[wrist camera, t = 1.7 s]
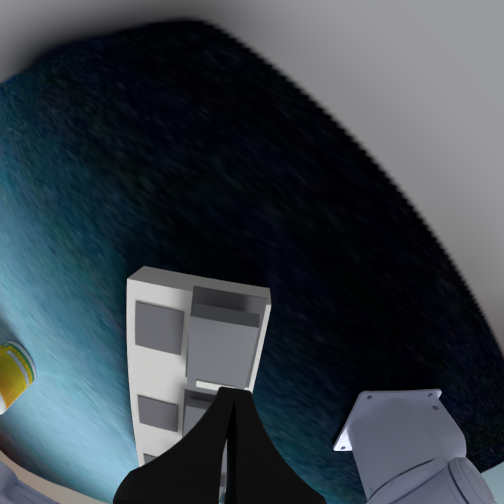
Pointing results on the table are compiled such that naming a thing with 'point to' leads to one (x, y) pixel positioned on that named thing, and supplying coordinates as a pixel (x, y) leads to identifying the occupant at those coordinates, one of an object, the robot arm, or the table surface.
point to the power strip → (175, 348)
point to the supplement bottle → (14, 373)
